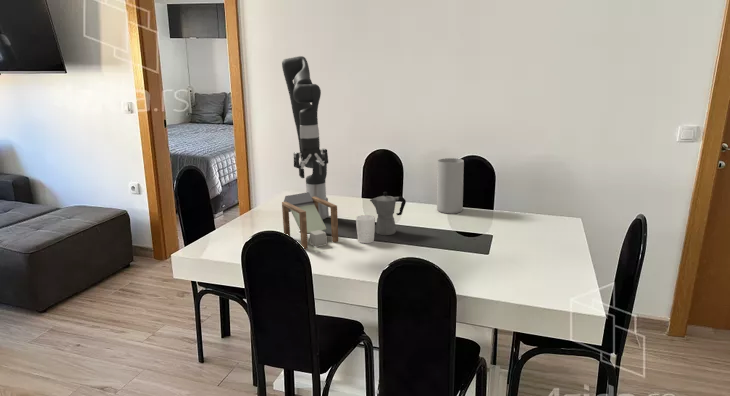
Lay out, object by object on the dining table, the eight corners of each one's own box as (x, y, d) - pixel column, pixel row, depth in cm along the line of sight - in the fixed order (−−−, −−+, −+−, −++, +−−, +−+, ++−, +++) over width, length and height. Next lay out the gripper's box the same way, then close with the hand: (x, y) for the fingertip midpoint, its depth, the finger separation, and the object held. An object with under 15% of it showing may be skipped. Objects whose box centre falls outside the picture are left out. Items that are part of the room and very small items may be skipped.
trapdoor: (282, 203, 222) (285, 196, 219) (306, 199, 228) (309, 192, 224) (299, 240, 212) (302, 233, 209) (324, 235, 218) (327, 228, 215)
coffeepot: (371, 235, 219) (370, 195, 215) (370, 229, 228) (369, 189, 224) (407, 234, 220) (407, 193, 215) (404, 227, 229) (404, 188, 224)
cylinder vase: (466, 209, 256) (467, 159, 250) (456, 215, 246) (457, 163, 240) (443, 205, 263) (443, 157, 256) (432, 211, 252) (433, 161, 246)
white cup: (377, 238, 216) (377, 215, 214) (372, 244, 209) (371, 221, 206) (360, 236, 219) (359, 214, 216) (353, 242, 211) (353, 219, 209)
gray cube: (320, 229, 213) (326, 232, 209) (320, 241, 215) (326, 244, 211) (309, 231, 211) (315, 235, 207) (310, 243, 212) (315, 246, 208)
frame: (317, 230, 229) (315, 196, 225) (338, 241, 213) (337, 205, 209) (284, 237, 221) (281, 202, 217) (303, 249, 205) (301, 212, 201)
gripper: (321, 133, 209) (323, 172, 214) (289, 137, 202) (291, 177, 206) (330, 135, 203) (332, 175, 207) (297, 139, 196) (300, 180, 200)
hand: (312, 176), depth 207 cm, fingers open, 8 cm apart
